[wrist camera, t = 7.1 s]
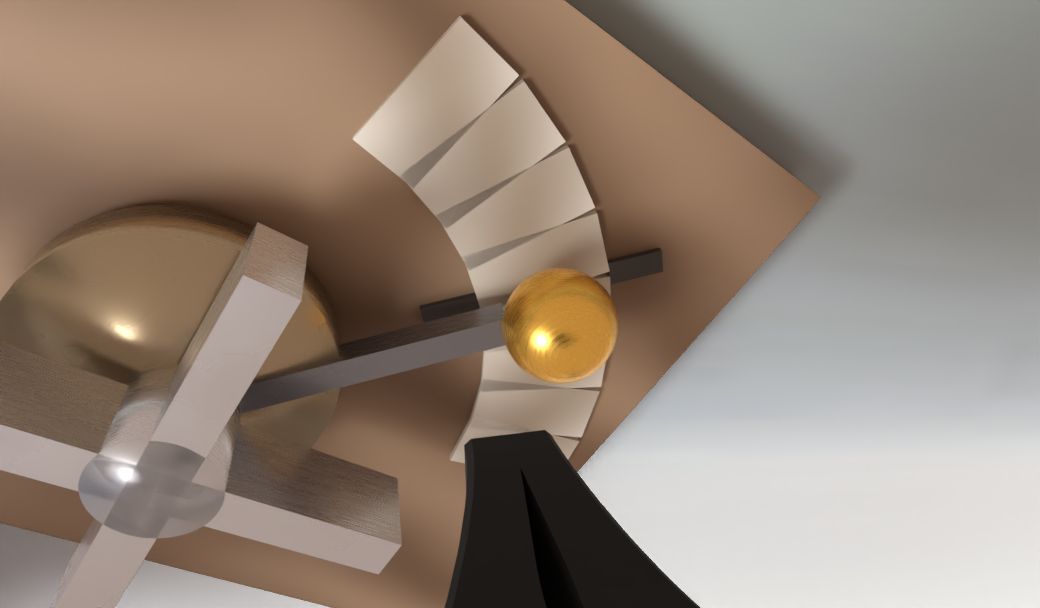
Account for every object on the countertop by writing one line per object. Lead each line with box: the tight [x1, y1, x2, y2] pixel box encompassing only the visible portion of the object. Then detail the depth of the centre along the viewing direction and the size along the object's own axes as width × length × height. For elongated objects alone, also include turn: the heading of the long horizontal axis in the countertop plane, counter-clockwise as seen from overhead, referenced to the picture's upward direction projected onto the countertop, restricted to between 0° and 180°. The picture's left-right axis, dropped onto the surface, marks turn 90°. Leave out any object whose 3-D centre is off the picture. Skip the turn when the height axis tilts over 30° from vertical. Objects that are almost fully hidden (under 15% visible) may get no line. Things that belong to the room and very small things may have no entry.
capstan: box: [0, 205, 618, 608], centre depth 18 cm, size 15×15×4 cm
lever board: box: [0, 0, 821, 608], centre depth 21 cm, size 21×21×2 cm
